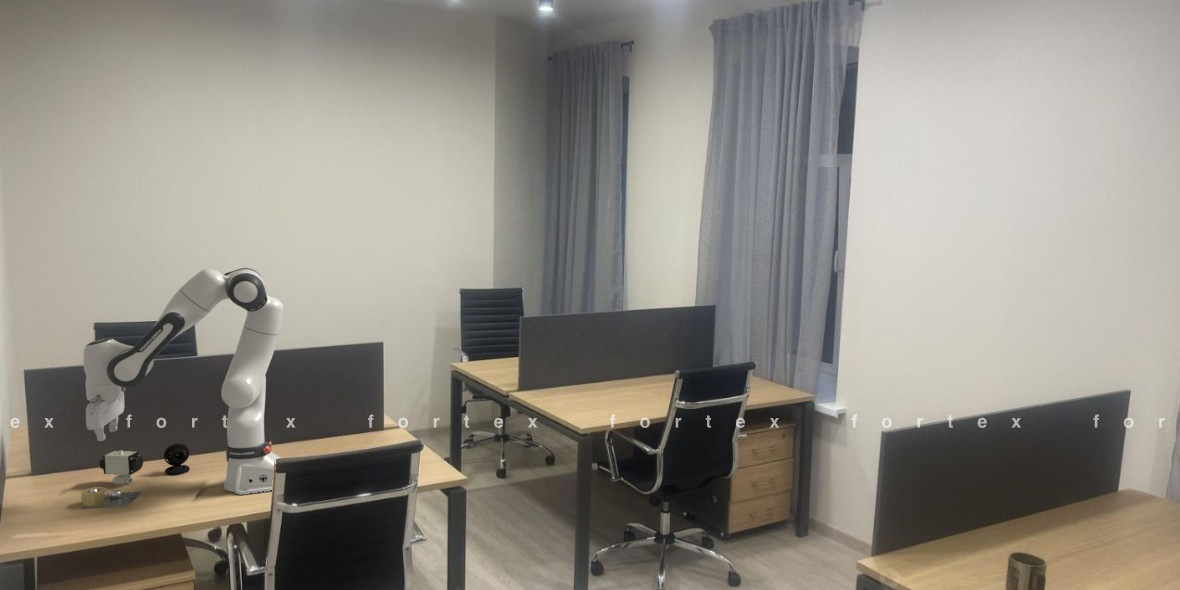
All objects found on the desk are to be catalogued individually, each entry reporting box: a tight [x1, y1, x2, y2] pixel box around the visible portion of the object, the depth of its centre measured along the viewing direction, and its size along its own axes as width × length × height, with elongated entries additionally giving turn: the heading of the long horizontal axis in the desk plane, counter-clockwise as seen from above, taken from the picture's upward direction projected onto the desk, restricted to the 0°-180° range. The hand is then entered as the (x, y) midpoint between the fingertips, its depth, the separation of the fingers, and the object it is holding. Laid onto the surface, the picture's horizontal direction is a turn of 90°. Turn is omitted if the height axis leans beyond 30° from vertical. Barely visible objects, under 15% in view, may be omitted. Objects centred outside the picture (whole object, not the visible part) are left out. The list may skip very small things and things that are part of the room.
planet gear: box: [80, 486, 108, 507], centre depth 229 cm, size 6×6×4 cm
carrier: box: [79, 487, 142, 510], centre depth 231 cm, size 13×12×5 cm
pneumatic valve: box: [99, 449, 144, 486], centre depth 246 cm, size 6×12×12 cm, turn 89°
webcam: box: [163, 443, 190, 476], centre depth 259 cm, size 8×8×10 cm
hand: (107, 435), depth 231 cm, fingers open, 8 cm apart
